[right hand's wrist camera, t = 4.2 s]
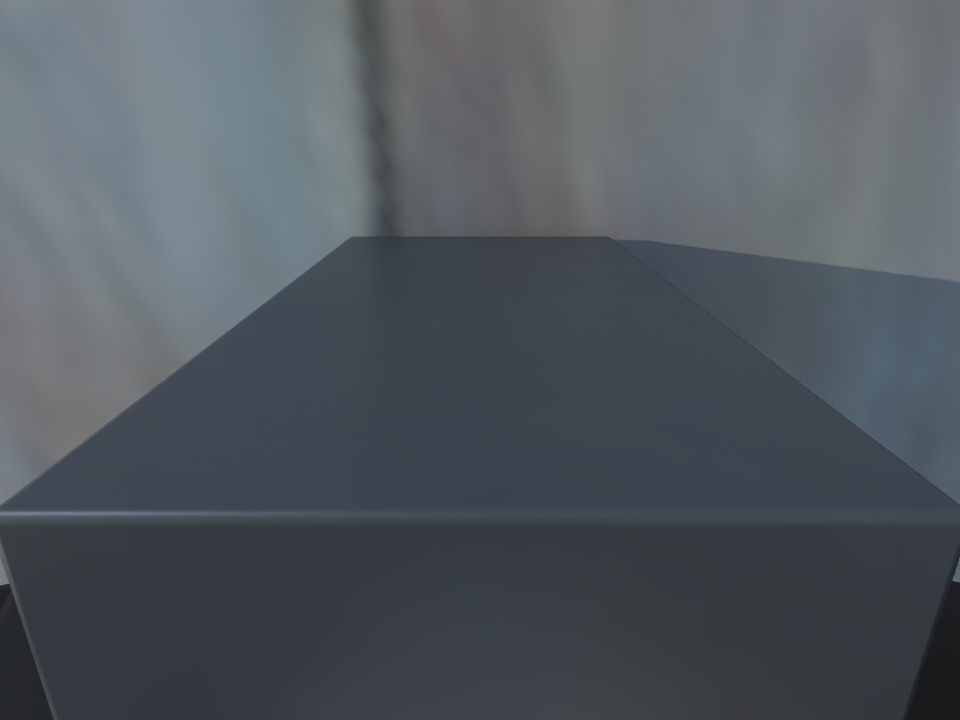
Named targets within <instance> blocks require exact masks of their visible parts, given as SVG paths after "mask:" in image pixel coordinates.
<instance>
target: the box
mask: <svg viewBox="0 0 960 720" xmlns="http://www.w3.org/2000/svg"><path fill="white" fill-rule="evenodd" d="M0 556H1V559H2V562H3V565H4V568H5V571H6V574H7V577H8V581H9V584H10V587H11V590H12V593H13V596H14V599H15V602H16V605H17V608H18V611H19V614H20V617H21V621H22V624H23V627H24V630H25V633H26V636H27V639H28V642H29V645H30V648H31V651H32V654H33V657H34V661H35V664H36V667H37V670H38V673H39V676H40V679H41V682H42V685H43V688H44V691H45V694H46V697H47V701H48V704H49V707H50V710H51V713H52V716H53V719H54V720H907V718H908V715H909V711H910V708H911V705H912V702H913V699H914V696H915V693H916V690H917V687H918V684H919V681H920V678H921V675H922V671H923V668H924V665H925V662H926V659H927V656H928V653H929V650H930V647H931V644H932V641H933V638H934V635H935V632H936V628H937V625H938V622H939V619H940V616H941V613H942V610H943V607H944V604H945V601H946V598H947V595H948V592H949V588H950V585H951V582H952V579H953V576H954V573H955V570H956V567H957V564H958V561H959V558H960V505H959V504H958V503H957V502H955V501H954V500H953V499H951V498H950V497H949V496H947V495H946V494H945V493H944V492H942V491H941V490H940V489H938V488H937V487H936V486H934V485H933V484H932V483H930V482H929V481H928V480H927V479H925V478H924V477H923V476H921V475H920V474H919V473H917V472H916V471H915V470H913V469H912V468H911V467H909V466H908V465H907V464H906V463H904V462H903V461H902V460H900V459H899V458H898V457H896V456H895V455H894V454H892V453H891V452H890V451H889V450H887V449H886V448H885V447H883V446H882V445H881V444H879V443H878V442H877V441H875V440H874V439H873V438H871V437H870V436H869V435H868V434H866V433H865V432H864V431H862V430H861V429H860V428H858V427H857V426H856V425H854V424H853V423H852V422H851V421H849V420H848V419H847V418H845V417H844V416H843V415H841V414H840V413H839V412H837V411H836V410H835V409H834V408H832V407H831V406H830V405H828V404H827V403H826V402H824V401H823V400H822V399H820V398H819V397H818V396H816V395H815V394H814V393H813V392H811V391H810V390H809V389H807V388H806V387H805V386H803V385H802V384H801V383H799V382H798V381H797V380H796V379H794V378H793V377H792V376H790V375H789V374H788V373H786V372H785V371H784V370H782V369H781V368H780V367H778V366H777V365H776V364H775V363H773V362H772V361H771V360H769V359H768V358H767V357H765V356H764V355H763V354H761V353H760V352H759V351H758V350H756V349H755V348H754V347H752V346H751V345H750V344H748V343H747V342H746V341H744V340H743V339H742V338H741V337H739V336H738V335H737V334H735V333H734V332H733V331H731V330H730V329H729V328H727V327H726V326H725V325H723V324H722V323H721V322H720V321H718V320H717V319H716V318H714V317H713V316H712V315H710V314H709V313H708V312H706V311H705V310H704V309H703V308H701V307H700V306H699V305H697V304H696V303H695V302H693V301H692V300H691V299H689V298H688V297H687V296H686V295H684V294H683V293H682V292H680V291H679V290H678V289H676V288H675V287H674V286H672V285H671V284H670V283H668V282H667V281H666V280H665V279H663V278H662V277H661V276H659V275H658V274H657V273H655V272H654V271H653V270H651V269H650V268H649V267H648V266H646V265H645V264H644V263H642V262H641V261H640V260H638V259H637V258H636V257H634V256H633V255H632V254H630V253H629V252H628V251H627V250H625V249H624V248H623V247H621V246H620V245H619V244H617V243H616V242H615V241H613V240H612V239H611V238H609V237H351V238H349V239H348V240H347V241H345V242H344V243H343V244H341V245H340V246H339V247H337V248H336V249H335V250H334V251H332V252H331V253H330V254H328V255H327V256H326V257H324V258H323V259H322V260H321V261H319V262H318V263H317V264H315V265H314V266H313V267H311V268H310V269H309V270H307V271H306V272H305V273H304V274H302V275H301V276H300V277H298V278H297V279H296V280H294V281H293V282H292V283H290V284H289V285H288V286H287V287H285V288H284V289H283V290H281V291H280V292H279V293H277V294H276V295H275V296H273V297H272V298H271V299H270V300H268V301H267V302H266V303H264V304H263V305H262V306H260V307H259V308H258V309H256V310H255V311H254V312H253V313H251V314H250V315H249V316H247V317H246V318H245V319H243V320H242V321H241V322H239V323H238V324H237V325H236V326H234V327H233V328H232V329H230V330H229V331H228V332H226V333H225V334H224V335H222V336H221V337H220V338H219V339H217V340H216V341H215V342H213V343H212V344H211V345H209V346H208V347H207V348H205V349H204V350H203V351H202V352H200V353H199V354H198V355H196V356H195V357H194V358H192V359H191V360H190V361H188V362H187V363H186V364H185V365H183V366H182V367H181V368H179V369H178V370H177V371H175V372H174V373H173V374H171V375H170V376H169V377H168V378H166V379H165V380H164V381H162V382H161V383H160V384H158V385H157V386H156V387H154V388H153V389H152V390H151V391H149V392H148V393H147V394H145V395H144V396H143V397H141V398H140V399H139V400H137V401H136V402H135V403H134V404H132V405H131V406H130V407H128V408H127V409H126V410H124V411H123V412H122V413H120V414H119V415H118V416H117V417H115V418H114V419H113V420H111V421H110V422H109V423H107V424H106V425H105V426H103V427H102V428H101V429H100V430H98V431H97V432H96V433H94V434H93V435H92V436H90V437H89V438H88V439H86V440H85V441H84V442H83V443H81V444H80V445H79V446H77V447H76V448H75V449H73V450H72V451H71V452H69V453H68V454H67V455H66V456H64V457H63V458H62V459H60V460H59V461H58V462H56V463H55V464H54V465H52V466H51V467H50V468H49V469H47V470H46V471H45V472H43V473H42V474H41V475H39V476H38V477H37V478H35V479H34V480H33V481H32V482H30V483H29V484H28V485H26V486H25V487H24V488H22V489H21V490H20V491H18V492H17V493H16V494H15V495H13V496H12V497H11V498H9V499H8V500H7V501H5V502H4V503H3V504H1V505H0Z"/></svg>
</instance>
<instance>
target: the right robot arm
mask: <svg viewBox="0 0 960 720" xmlns="http://www.w3.org/2000/svg"><path fill="white" fill-rule="evenodd" d="M0 720H54V719H53V716H52V713H51V710H50V707H49V704H48V701H47V697H46V694H45V691H44V688H43V685H42V682H41V679H40V676H39V673H38V670H37V667H36V664H35V661H34V657H33V654H32V651H31V648H30V645H29V642H28V639H27V636H26V633H25V630H24V627H23V624H22V621H21V617H20V614H19V611H18V608H17V605H16V602H15V599H14V596H13V593H12V590H11V587H10V584H6V585H1V586H0ZM907 720H960V583H959V582H954V581H952V582H951V585H950V588H949V592H948V595H947V598H946V601H945V604H944V607H943V610H942V613H941V616H940V619H939V622H938V625H937V628H936V632H935V635H934V638H933V641H932V644H931V647H930V650H929V653H928V656H927V659H926V662H925V665H924V668H923V671H922V675H921V678H920V681H919V684H918V687H917V690H916V693H915V696H914V699H913V702H912V705H911V708H910V711H909V715H908V718H907Z"/></svg>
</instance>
